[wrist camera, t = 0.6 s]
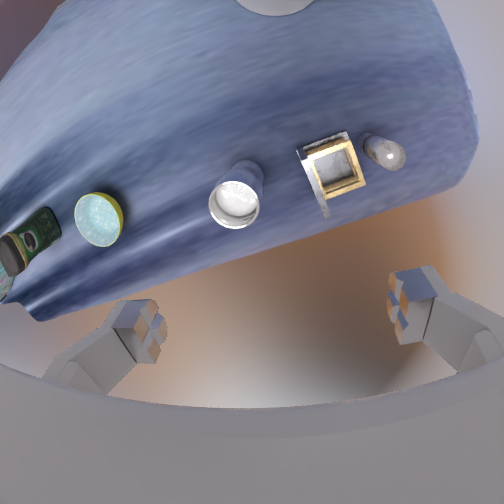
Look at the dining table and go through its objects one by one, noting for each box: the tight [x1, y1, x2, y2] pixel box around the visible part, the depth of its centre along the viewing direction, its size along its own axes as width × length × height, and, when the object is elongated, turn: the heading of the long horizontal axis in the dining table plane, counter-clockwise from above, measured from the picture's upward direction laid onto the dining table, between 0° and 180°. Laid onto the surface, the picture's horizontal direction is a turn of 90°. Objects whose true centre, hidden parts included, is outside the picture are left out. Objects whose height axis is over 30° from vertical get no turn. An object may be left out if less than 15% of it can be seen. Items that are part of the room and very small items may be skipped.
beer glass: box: [209, 160, 264, 229], centre depth 42 cm, size 7×7×15 cm
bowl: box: [75, 192, 123, 247], centre depth 51 cm, size 11×12×6 cm
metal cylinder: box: [357, 133, 406, 171], centre depth 38 cm, size 4×4×12 cm
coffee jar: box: [0, 207, 61, 277], centre depth 49 cm, size 10×8×19 cm
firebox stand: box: [296, 131, 366, 218], centre depth 41 cm, size 9×9×11 cm
